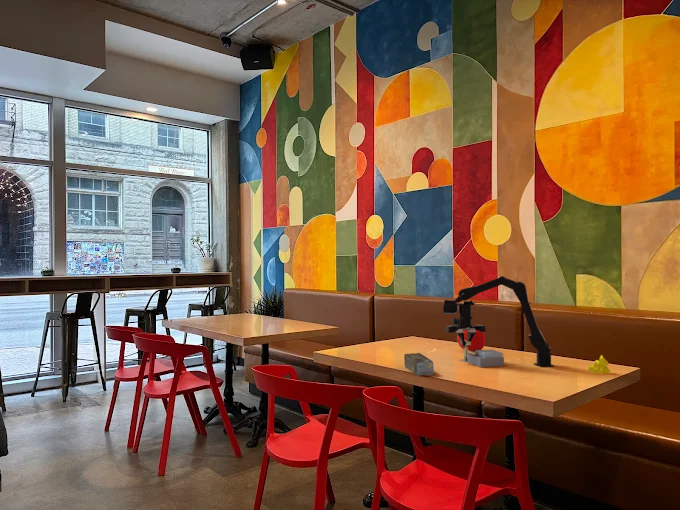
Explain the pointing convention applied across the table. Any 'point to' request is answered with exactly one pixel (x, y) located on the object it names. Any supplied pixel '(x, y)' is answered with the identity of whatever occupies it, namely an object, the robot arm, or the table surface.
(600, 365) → the yellow crystal cluster
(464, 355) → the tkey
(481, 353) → the cover
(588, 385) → the table surface
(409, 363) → the beverage carton
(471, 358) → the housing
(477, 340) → the tomato
